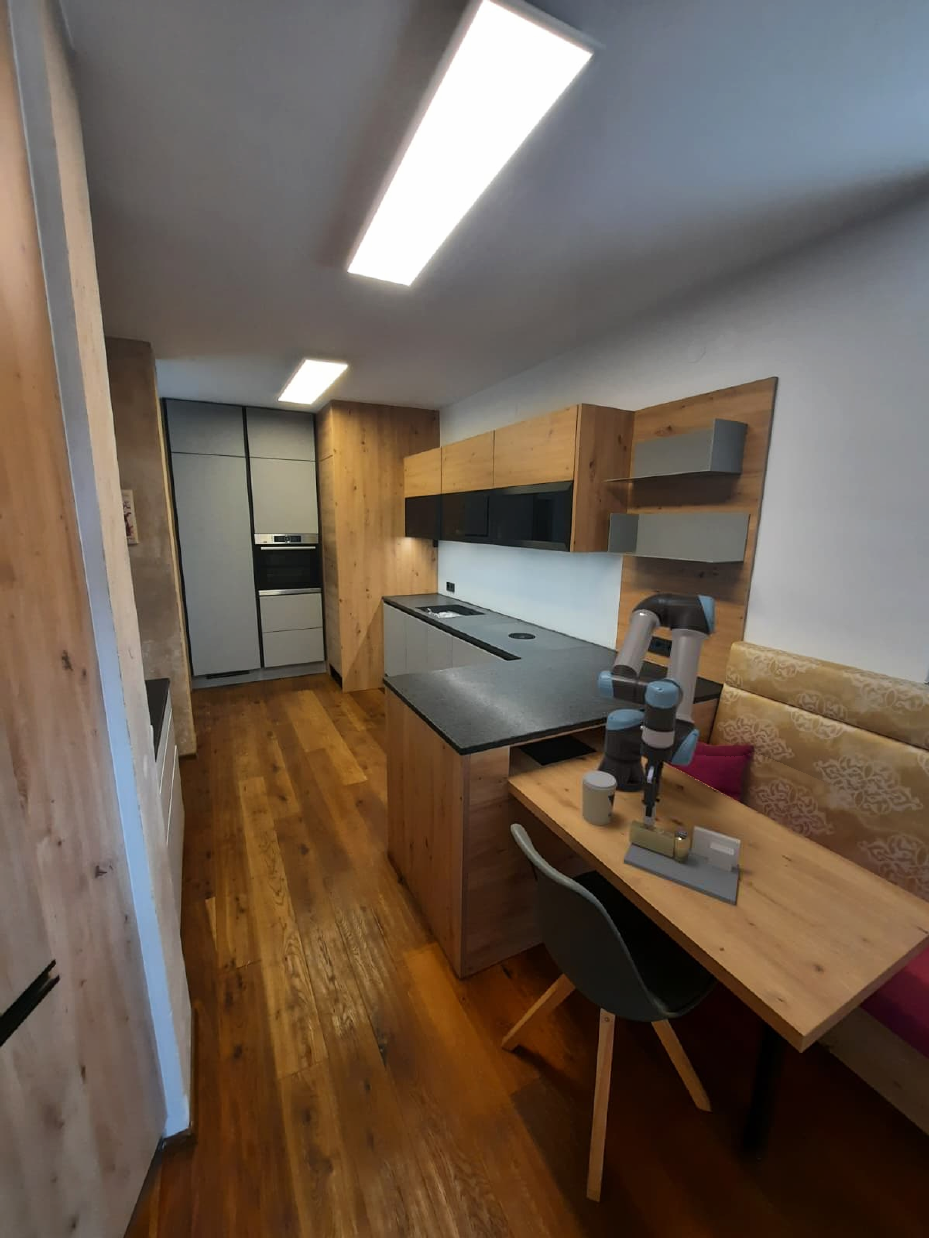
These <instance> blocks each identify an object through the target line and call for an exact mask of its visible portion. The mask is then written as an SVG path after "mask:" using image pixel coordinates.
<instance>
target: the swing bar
mask: <svg viewBox="0 0 929 1238" xmlns="http://www.w3.org/2000/svg"><path fill="white" fill-rule="evenodd" d="M691 841H692V840H691V837H690V836H689V835H688V834H687V838H681V837H679V835H678V832H671V831H668V830H665V829H663V828H659V827H656V826H655V825H654V826H651V825H648V824H645V823H643V821H642V822H641V821H638V820H636V819H632V821H631V823H630V828H629V839H628V842H629V843H630V844H631V843H634V844H637V845H639V846H642V847H645V848H648V849H651V850H653V851H656V852H659V853H662V854H664V855H667V856H670V857H673V858H674V859H675V860H677V861H680V862H686V861H688V855H689V848H691Z"/></svg>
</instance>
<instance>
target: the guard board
mask: <svg viewBox="0 0 929 1238" xmlns="http://www.w3.org/2000/svg"><path fill="white" fill-rule="evenodd" d="M677 833H678V835H679V837H681V838H687V835H688V831H687V830H686V829H682V828H681V829H678V832H677ZM691 843H692V846H691V847H690V848H689V855H688V861H686V862H680V861H677V860H675V859H674V858H673V857H670V856H667V855H664V854H662V853H659V852H656V851H653V850H651V849H648V848H645V847H642V846H639V845H637V844H634V843H631V842H630V845H629V847H628V850H627V851H626V853H625V856H624V858H623V863H624V864H626V865H628V866H631V867H634V868H637V869H639V870H642V871H644V872H647V873H650V874H652V875H655V876H657V877H659V878H662V879H664V880H667V881H670V882H673V883H675V884H677V885H681V886H683V887H686V888H688V889H692V890H694V891H696V892H698V893H701V894H704V895H706V896H709V897H711V898H714V899H717V900H719V901H721V902H725V903H727V904H730V905H732V906H735V904H736V898H737V897H736V896H737V889H738V888H737V887H738V881H739V880H738V879H739V871H740V864H739V863H738V861H739V855H740V854H739V853H740V848H741V839H738V838H735V837H731V836H728V835H725V834H722V833H720V832H716V831H713V830H709V829H707V828H703V827H700V826H698V825H694V829H693V836H692V842H691Z"/></svg>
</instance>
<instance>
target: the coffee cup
mask: <svg viewBox="0 0 929 1238" xmlns="http://www.w3.org/2000/svg"><path fill="white" fill-rule="evenodd" d="M581 781H582V817H583V819H584V820H585V821H586V822H588V823H590V824H592V825H595V826H596V825H597V826H605V825H608V824H610V822H611V820H612V813H613V808H614V802H615V796H616V795H615V794H616V791H617V790H616V787H617V782H616V779H615V778H614V777H613V776H612V775H610V774H608V773H606V772H602V771H597V770H589V771H587V772H585V773H583V776H582V780H581Z"/></svg>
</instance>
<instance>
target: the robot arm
mask: <svg viewBox="0 0 929 1238" xmlns="http://www.w3.org/2000/svg"><path fill="white" fill-rule="evenodd" d="M715 610H716V608H715V600H714V598H713V597H711V596H707V595H700V594H687V593H675V592H658V593H653V594H651V595H649V596H647V597H645V598H644V599H643V600H641V601H640V602H639V603H638V604H637V605H636V606H635V607H634V608H633V610H632V612H631V613H630V616H629V620H628V621H629V626H628V629H627V632H626V634H625V636H624V639H623V641H622V644H621V646H620V649H619V651H618V653H617V656H616V658H615V661H614V663H613V665H612V668H611V669H610V670H603V671H601V672H600V673H599V676H598V680H597V692H598V695H599V696H601V697H604V698H607V699H611V700H618V701H623V702H628V703H633V704H637V705H641V706H642V705H643V706H644V711H641V710H638V709H629V708H627V709H624V708H623V709H617V710H613V711H611V712H610V713H609V714H608V715H607V719H606V725H605V736H604V737H605V738H604V748H603V749H604V751H603V756H602V758H601V760H600V762H599V764H598V766H597V769H596V771H602V772H606V773H608V774H610V775H612V776H613V777H614V778H615V779H616V782H617V787H616V790H615V791H619V792H625V793H628V792H629V793H630V792H631V793H634V792H638V791H641V790H642V789H643V798H642V799H641V804H643V813H642V823H645V824H648V825H651V826H654V827H655V821H656V820H655V819H656V810H657V803H660V801H661V799H660V798H658V797H659V795H660V785H661V778H662V775H663V770H664V767H665V766H664V765H665V763H667V764H670V765H676V766H681V767H687V766H689V765H690V764H691V762H692V759H693V756H694V754H695V752H696V751H695V750H696V748H697V744H698V739H699V736H700V730H699V729H697V728H696V722H695V721H694V720H693V717H692V711H693V704H694V699H695V691H696V683H697V679H698V673H699V672H698V671H699V665H700V660H701V653H702V645H703V643H704V642H705V641H707V640H708V639H709V637H710V634H714V633H715V631H716V629H715V627H716V618H715V617H716V616H715V615H716V614H715V613H716V611H715ZM660 628H665V629H666V628H667V629H669V630H668V631H669V632H668V633H669V635H670V636H671V638H672V644H671V649H670V654H669V661H668V666H667V673H666V677H664V678H662V679H656V678H650V677H643V676H639V675H640V672H641V670H642V667H643V664H644V661H645V659H646V656H647V653H648V649H649V647H650V645H651V642H652V638H653V635H654V633H656V632H657V631H658V629H660ZM642 758H645V759H646V760H647V761H646V762H645V765H644V766H643V762H642V760H643V759H642ZM644 770H645V771H644Z"/></svg>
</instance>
